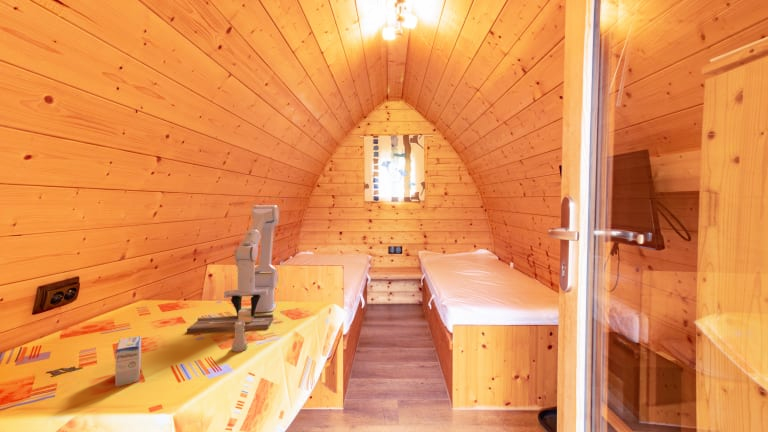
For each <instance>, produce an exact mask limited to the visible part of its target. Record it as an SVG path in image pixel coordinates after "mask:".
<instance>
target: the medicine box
mask: <svg viewBox="0 0 768 432" xmlns="http://www.w3.org/2000/svg"><path fill="white" fill-rule="evenodd" d="M141 363H142V336H141V335H138V336H130V337H124V338H121V339H119V341H118V344H117V346H116V350H115V370H114V371H115V374H114V375H115V379H114V380H115V383H114V384H115V387H120V386H125V385H129V384H133V383H137V382H139V381H140V372H141V368H142V364H141Z"/></svg>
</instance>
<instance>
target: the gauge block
mask: <svg viewBox="0 0 768 432" xmlns="http://www.w3.org/2000/svg"><path fill="white" fill-rule="evenodd" d="M253 318H254V317H251V306H248V307H247V306H246V307H245V306H244V307H242V306H241V309H240V310H239V311H238V323H239V322H240V321H244V323H246V322H251V321H252V319H253Z"/></svg>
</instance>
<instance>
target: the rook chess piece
mask: <svg viewBox="0 0 768 432" xmlns="http://www.w3.org/2000/svg"><path fill="white" fill-rule="evenodd" d="M245 325H246V324H245V323H244V321H240V322H239V323H238V321H237V323H236V322H235V325H234V327H235V331H234V339H233V342H232V343H231V351H232V352H233V353H234V352H235V353H239V352H243V351H246V349H247V348H248V341H247V340H246V337H245V331H246V330H245V329H244V326H245Z"/></svg>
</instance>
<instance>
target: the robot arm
mask: <svg viewBox="0 0 768 432" xmlns="http://www.w3.org/2000/svg"><path fill="white" fill-rule="evenodd" d="M251 216H252V217H251V218H252V223H251V226H250V229H248V230H247V231H246V232H245V234H244V236H243V239H242V242H241V243H240V245H238V246H237V247H235V250H234V254H233V255H234V260H235V266H236V267H237V289H235V290H234V289H233V290H225V291H224V292H223V298H231V299H230V302H231V303H232V304H233V307H234V309H235V312H236V316H238V311H239V310H240V309H241V308H242V300H243V297H250V304H251V306H250V307H251V317H254V315H256V313H266V312H267V313H269V312H273V311H274V310H275V308H276V307H277V304H276V303H275V290H274V289H275V288H276V287H277V285H278V281H279V276H278V273H279V272H278V269H277V268H276V267H275V266H274V265H272V258H273V245H274V244H273V243H274V234H275V227H276V226H278V225H279V221H280V209H279V207H278V205H276V204H274V205H271V204H270V205H268V204H267V205H264V204H263V205H260V204H259V205H257V204H254V205H253V206H252V208H251ZM259 244H260V249H259V247H258V246H259ZM259 250H260V251H259ZM258 251H259V252H258ZM258 253H259V260H258V261H259V264H258V265H257V266H256V265H255V264H256V260H257V258H258ZM255 266H256V267H255Z"/></svg>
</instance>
